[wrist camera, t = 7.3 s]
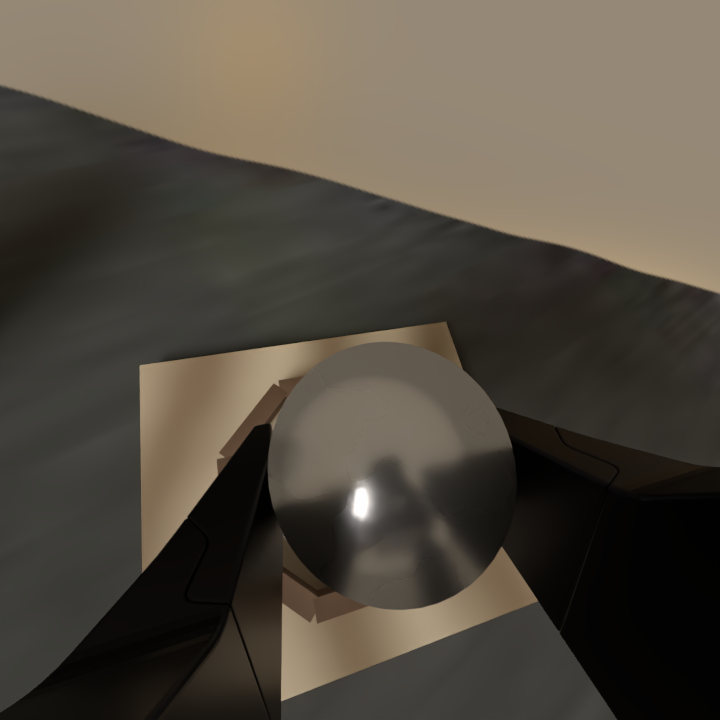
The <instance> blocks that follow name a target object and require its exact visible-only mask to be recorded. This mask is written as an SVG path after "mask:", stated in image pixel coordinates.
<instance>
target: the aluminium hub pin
mask: <svg viewBox="0 0 720 720" xmlns="http://www.w3.org/2000/svg"><path fill="white" fill-rule="evenodd" d="M268 482H269V491H270V496H271V501H272V506H273V509H274V512H275V515H276V518H277V521H278V524H279V526H280V528H281V530H282V532H283V536H284V538H285V539H286V540H287V542H288V544H289V545H290V547H291V548H292V550H293V551H294V553H295V554H296V556H297V557H298V558H299V560H300V561H301V562H302V563H303V564H304V565H305V566H306V568H307V569H308V570H309V571H310V572H311V573H312V574H313V575H314V576H315V577H316V578H318V579H319V580H320V581H321V582H323V583H324V584H325V585H326V586H328V587H329V588H330V589H332V590H334V591H336V592H337V593H339V594H341V595H342V596H344V597H346V598H348V599H351V600H353V601H356V602H358V603H361V604H363V605H367V606H372V607H376V608H381V609H391V610H408V609H417V608H423V607H426V606H430V605H434V604H437V603H440V602H442V601H444V600H446V599H449V598H451V597H453V596H455V595H456V594H458V593H459V592H461V591H462V590H464V589H465V588H467V587H468V586H470V585H471V584H472V583H473V582H474V581H475V580H476V579H477V578H478V577H479V576H481V575H482V574H483V573H484V571H485V570H486V569H487V568H488V566H489V565H490V564H491V563H492V561H493V560H494V558H495V557H496V555H497V553H498V552H499V550H500V548H501V547H502V545H503V543H504V540H505V538H506V536H507V533H508V531H509V528H510V525H511V521H512V517H513V514H514V508H515V501H516V491H517V475H516V464H515V458H514V453H513V448H512V444H511V441H510V438H509V435H508V432H507V429H506V427H505V425H504V423H503V420H502V418H501V416H500V414H499V413H498V411H497V409H496V407H495V406H494V404H493V402H492V401H491V400H490V398H489V397H488V396H487V394H486V393H485V391H484V390H483V389H482V388H481V387H480V386H479V385H478V384H477V382H476V381H475V380H474V379H473V378H472V377H471V376H469V375H468V374H467V373H466V372H465V371H464V370H463V369H461V368H460V367H458V366H457V365H456V364H454V363H453V362H451V361H450V360H448V359H446V358H444V357H442V356H441V355H439V354H437V353H434V352H432V351H430V350H427V349H425V348H421V347H418V346H414V345H411V344H405V343H398V342H374V343H366V344H361V345H357V346H353V347H350V348H347V349H344V350H342V351H339V352H337V353H335V354H333V355H332V356H330V357H328V358H326V359H325V360H323V361H322V362H320V363H319V364H317V365H316V366H315V367H314V368H312V369H311V370H310V371H309V372H308V373H307V374H306V375H305V376H304V377H303V378H302V379H301V380H300V381H299V382H298V384H297V385H296V386H295V387H294V388H293V390H292V391H291V393H290V394H289V396H288V397H287V399H286V401H285V402H284V404H283V406H282V408H281V411H280V413H279V415H278V417H277V420H276V423H275V426H274V429H273V432H272V436H271V441H270V447H269V454H268Z"/></svg>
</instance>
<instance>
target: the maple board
mask: <svg viewBox="0 0 720 720" xmlns="http://www.w3.org/2000/svg"><path fill="white" fill-rule="evenodd" d="M374 342H398V343H405V344H411V345H414V346H418V347H421V348H425V349H427V350H430V351H432V352H434V353H437V354H439V355H441V356H442V357H444V358H446V359H448V360H450V361H451V362H453V363H454V364H456V365H457V366H458V367H460V368H461V369H463V368H462V366H461V363H460V360H459V357H458V354H457V352H456V349H455V346H454V343H453V340H452V338H451V335H450V332H449V329H448V326H447V324H446V322H440V323H433V324H426V325H419V326H412V327H405V328H398V329H391V330H384V331H377V332H370V333H363V334H356V335H349V336H342V337H335V338H328V339H321V340H314V341H307V342H300V343H293V344H286V345H279V346H272V347H265V348H258V349H251V350H244V351H238V352H231V353H224V354H217V355H210V356H203V357H196V358H189V359H182V360H175V361H168V362H161V363H154V364H147V365H140V429H141V512H142V573H143V571H144V570H145V569H146V568H147V567H148V566H149V564H150V563H151V562H152V561H153V560H154V559H155V557H156V556H157V555H158V554H159V553H160V551H161V550H162V549H163V547H164V546H165V545H166V544H167V542H168V541H169V540H170V539H171V537H172V536H173V535H174V533H175V532H176V531H177V529H178V528H179V527H180V525H181V524H182V523H183V521H184V520H185V519H187V516H188V515H189V514H190V512H191V511H192V509H193V508H194V507H195V505H196V504H197V503H198V501H199V500H200V499H201V497H202V496H203V495H204V493H205V492H206V491H207V489H208V488H209V487H210V485H211V484H212V483H213V481H214V480H215V479H216V477H217V476H218V475H219V473H220V472H221V470H222V469H223V468H224V466H225V465H226V464H227V462H228V461H229V460H230V458H231V457H232V456H233V454H234V453H235V452H236V450H237V449H238V448H239V446H240V445H241V444H242V442H243V441H244V440H245V438H246V437H247V436H248V434H249V433H250V431H251V430H252V429H253V427H254V426H256V425H260V424H266V423H270V424H271V426H272V430H273V429H274V426H275V423H276V420H277V417H278V415H279V413H280V411H281V408H282V406H283V404H284V402H285V401H286V399H287V397H288V396H289V394H290V393H291V391H292V390H293V388H294V387H295V386H296V385H297V384H298V382H299V381H300V380H301V379H302V378H303V377H304V376H305V375H306V374H307V373H308V372H309V371H310V370H311V369H312V368H314V367H315V366H316V365H317V364H319V363H320V362H322V361H323V360H325V359H326V358H328V357H330V356H332V355H333V354H335V353H337V352H339V351H342V350H344V349H347V348H350V347H353V346H357V345H361V344H366V343H374ZM537 601H538V600H537V598H536V597H535V595H534V594H533V592H532V591H531V589H530V588H529V586H528V585H527V583H526V582H525V581H524V579H523V578H522V576H521V575H520V573H519V572H518V570H517V569H516V567H515V566H514V564H513V563H512V561H511V560H510V558H509V557H508V555H507V554H506V552H505V551H504V549H503V548H502V547H501V548H500V550H499V552H498V553H497V555H496V557H495V558H494V560H493V561H492V563H491V564H490V565H489V566H488V568H487V569H486V570H485V571H484V573H483V574H482V575H481V576H479V577H478V578H477V579H476V580H475V581H474V582H473V583H472V584H471V585H470V586H468V587H467V588H465V589H464V590H462V591H461V592H459V593H458V594H456V595H455V596H453V597H451V598H449V599H446V600H444V601H442V602H440V603H437V604H434V605H430V606H426V607H423V608H417V609H408V610H391V609H381V608H376V607H372V606H367V605H363V604H361V603H358V602H356V601H353V600H351V599H348V598H346V597H344V596H342V595H341V594H339V593H337V592H336V591H334V590H332V589H330V588H329V587H328V586H326V585H325V584H324V583H323V582H321V581H320V580H319V579H318V578H316V577H315V576H314V575H313V574H312V573H311V572H310V571H309V570H308V569H307V568H306V566H305V565H304V564H303V563H302V562H301V561H300V560H299V558H298V557H297V556H296V554H295V553H294V551H293V550H292V548H291V547H290V545H289V544H288V542H287V540H286V539H285V538H284V536H283V581H282V664H281V701H283V700H286V699H288V698H291V697H293V696H296V695H298V694H301V693H304V692H306V691H309V690H311V689H314V688H316V687H319V686H322V685H324V684H327V683H329V682H332V681H334V680H337V679H339V678H342V677H345V676H347V675H350V674H352V673H355V672H357V671H360V670H363V669H365V668H368V667H370V666H373V665H375V664H378V663H380V662H383V661H386V660H388V659H391V658H393V657H396V656H398V655H401V654H404V653H406V652H409V651H411V650H414V649H416V648H419V647H421V646H424V645H427V644H429V643H432V642H434V641H437V640H439V639H442V638H445V637H447V636H450V635H452V634H455V633H457V632H460V631H463V630H465V629H468V628H470V627H473V626H475V625H478V624H480V623H483V622H486V621H488V620H491V619H493V618H496V617H498V616H501V615H504V614H506V613H509V612H511V611H514V610H516V609H519V608H521V607H524V606H527V605H529V604H532V603H534V602H537Z"/></svg>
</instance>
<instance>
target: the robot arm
mask: <svg viewBox="0 0 720 720" xmlns="http://www.w3.org/2000/svg"><path fill="white" fill-rule="evenodd" d="M496 409H497V411H498V413H499V414H500V416H501V418H502V420H503V423H504V425H505V427H506V429H507V432H508V435H509V438H510V441H511V444H512V448H513V453H514V458H515V464H516V475H517V491H516V501H515V508H514V514H513V517H512V521H511V525H510V528H509V531H508V533H507V536H506V538H505V540H504V543H503V545H502V548H503V549H504V551H505V552H506V554H507V555H508V557H509V558H510V560H511V561H512V563H513V564H514V566H515V567H516V569H517V570H518V572H519V573H520V575H521V576H522V578H523V579H524V581H525V582H526V583H527V585H528V586H529V588H530V589H531V591H532V592H533V594H534V595H535V597H536V598H537V600H538V601H539V603H540V604H541V606H542V607H543V609H544V610H545V612H546V613H547V615H548V616H549V618H550V619H551V621H552V622H553V624H554V625H555V627H556V628H557V630H559V631H560V635H561V636H562V638H563V639H564V641H565V642H566V644H567V645H568V647H569V648H570V650H571V651H572V653H573V654H574V656H575V657H576V659H577V660H578V662H579V663H580V665H581V666H582V668H583V669H584V671H585V672H586V674H587V675H588V676H589V678H590V679H591V681H592V682H593V684H594V685H595V687H596V688H597V690H598V691H599V693H600V694H601V696H602V697H603V699H604V700H605V702H606V703H607V705H608V706H609V708H610V709H611V711H612V712H613V714H614V715H615V717H616V718H617V720H720V467H709V466H701V465H694V464H689V463H685V462H681V461H677V460H673V459H669V458H666V457H662V456H658V455H654V454H651V453H647V452H643V451H639V450H635V449H632V448H628V447H624V446H620V445H617V444H613V443H609V442H606V441H602V440H599V439H595V438H591V437H588V436H585V435H582V434H578V433H575V432H572V431H569V430H565V429H562V428H559V427H555V428H554V426H553V425H550V424H546V423H543V422H540V421H537V420H534V419H531V418H528V417H524V416H521V415H518V414H515V413H512V412H509V411H506V410H502V409H499V408H496ZM272 432H273V430H272V426H271V424H270V423H266V424H260V425H256V426H254V427H253V429H252V430H251V431H250V433H249V434H248V436H247V437H246V438H245V440H244V441H243V442H242V444H241V445H240V446H239V448H238V449H237V450H236V452H235V453H234V454H233V456H232V457H231V458H230V460H229V461H228V462H227V464H226V465H225V466H224V468H223V469H222V470H221V472H220V473H219V475H218V476H217V477H216V479H215V480H214V481H213V483H212V484H211V485H210V487H209V488H208V489H207V491H206V492H205V493H204V495H203V496H202V497H201V499H200V500H199V501H198V503H197V504H196V505H195V507H194V508H193V509H192V511H191V512H190V514H189V515H188V516H187V519H185V520H184V521H183V523H182V524H181V525H180V527H179V528H178V529H177V531H176V532H175V533H174V535H173V536H172V537H171V539H170V540H169V541H168V542H167V544H166V545H165V546H164V547H163V549H162V550H161V551H160V553H159V554H158V555H157V556H156V557H155V559H154V560H153V561H152V562H151V563H150V564H149V566H148V567H147V568H146V569H145V570H144V571H143V573H142V574H141V575H140V576H139V577H138V578H137V580H136V581H135V582H134V583H133V584H132V585H131V586H130V588H129V589H128V590H127V591H126V592H125V593H124V594H123V595H122V597H121V598H120V599H119V600H118V601H117V602H116V603H115V604H114V606H113V607H112V608H111V609H110V610H109V611H108V612H107V613H106V615H105V616H104V617H103V618H102V619H101V620H100V621H99V622H98V624H97V625H96V626H95V627H94V628H93V629H92V630H91V631H90V633H89V634H88V635H87V636H86V637H85V638H84V639H83V640H82V642H81V643H80V644H79V645H78V646H77V647H76V648H75V649H74V651H73V652H72V653H71V654H70V655H69V656H68V657H67V658H66V659H65V660H64V661H63V662H62V663H61V664H60V666H59V667H58V668H57V669H55V670H54V671H53V672H52V673H51V674H50V675H49V676H48V677H47V678H46V679H45V680H44V681H43V682H42V683H40V684H39V685H38V686H37V687H36V688H34V689H33V690H32V691H31V692H30V693H28V694H27V695H25V696H24V697H23V698H21V699H20V700H19V701H17V702H16V703H14V704H13V705H12V706H10V707H8V708H7V709H5V710H4V711H2V712H1V713H0V720H281V664H282V581H283V532H282V530H281V528H280V526H279V524H278V521H277V518H276V515H275V512H274V509H273V506H272V501H271V496H270V491H269V482H268V454H269V447H270V441H271V436H272Z"/></svg>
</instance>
